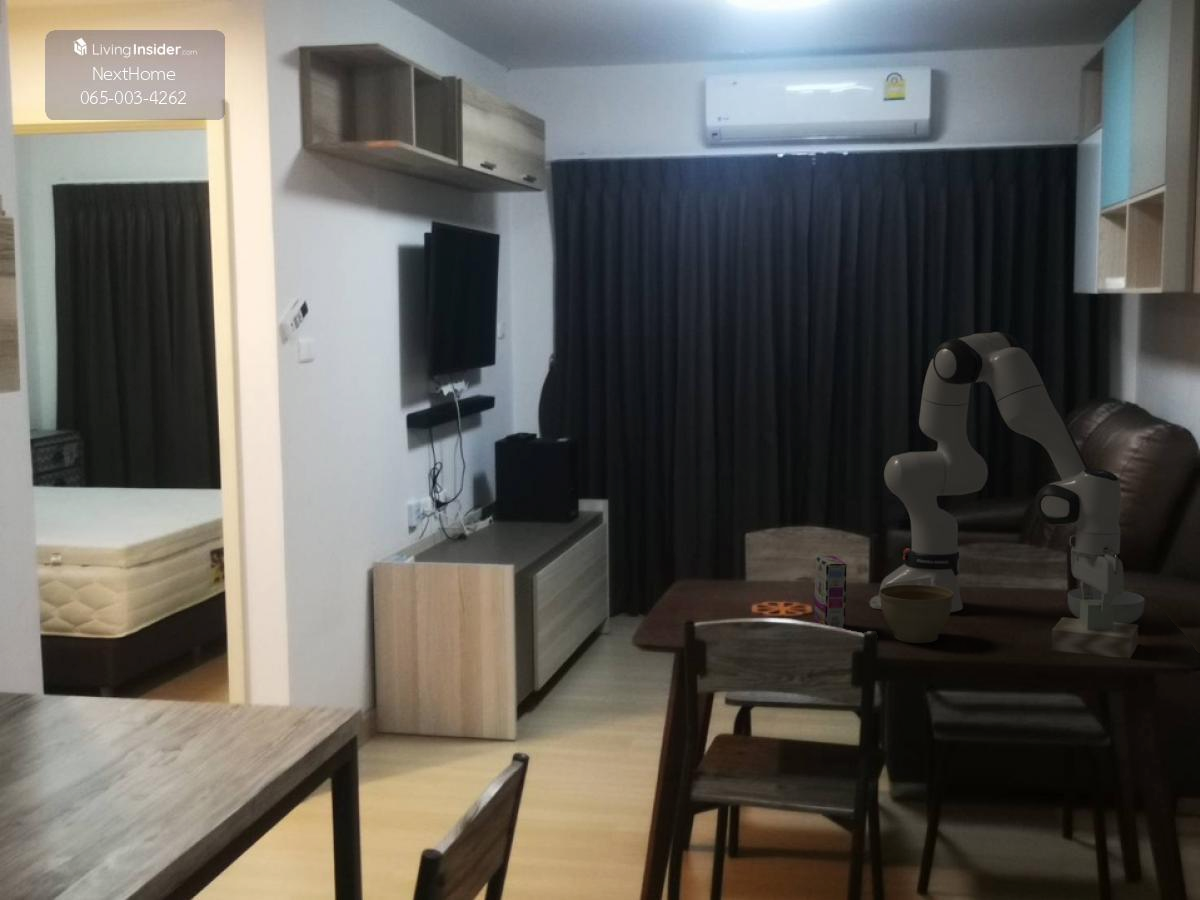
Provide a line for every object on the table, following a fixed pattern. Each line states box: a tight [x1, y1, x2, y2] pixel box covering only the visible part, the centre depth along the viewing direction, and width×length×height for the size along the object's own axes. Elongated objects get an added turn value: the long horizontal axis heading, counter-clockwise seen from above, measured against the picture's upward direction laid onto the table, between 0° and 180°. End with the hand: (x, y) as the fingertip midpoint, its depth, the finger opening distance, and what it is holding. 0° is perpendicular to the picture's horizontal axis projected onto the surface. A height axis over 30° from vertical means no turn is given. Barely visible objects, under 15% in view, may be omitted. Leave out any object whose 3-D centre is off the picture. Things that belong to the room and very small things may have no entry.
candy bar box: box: [813, 555, 848, 629], centre depth 312 cm, size 11×5×16 cm, turn 5°
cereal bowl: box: [1067, 587, 1146, 624], centre depth 314 cm, size 17×17×7 cm
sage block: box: [1080, 600, 1114, 630], centre depth 293 cm, size 6×6×6 cm
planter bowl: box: [879, 585, 953, 644], centre depth 302 cm, size 16×16×11 cm
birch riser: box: [1051, 616, 1139, 660], centre depth 294 cm, size 16×13×5 cm
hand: (1096, 606), depth 293 cm, fingers open, 8 cm apart
